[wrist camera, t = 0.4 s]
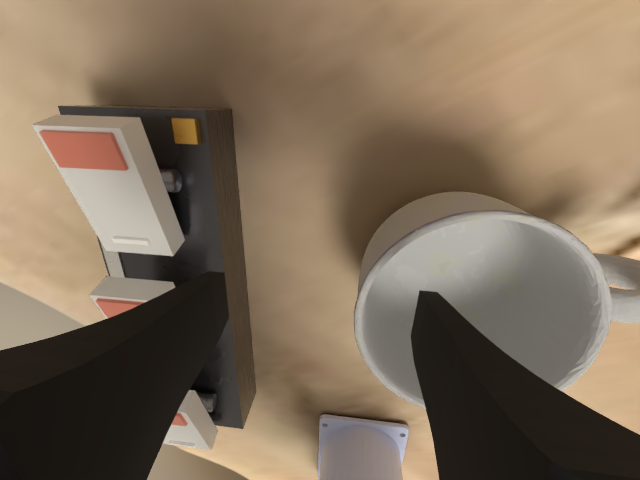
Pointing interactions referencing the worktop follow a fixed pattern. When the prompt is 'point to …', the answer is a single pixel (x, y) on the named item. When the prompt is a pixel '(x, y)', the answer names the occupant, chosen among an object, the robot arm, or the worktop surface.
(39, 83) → the worktop surface
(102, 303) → the block
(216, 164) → the switch panel
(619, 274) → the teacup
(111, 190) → the rocker
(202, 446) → the block
